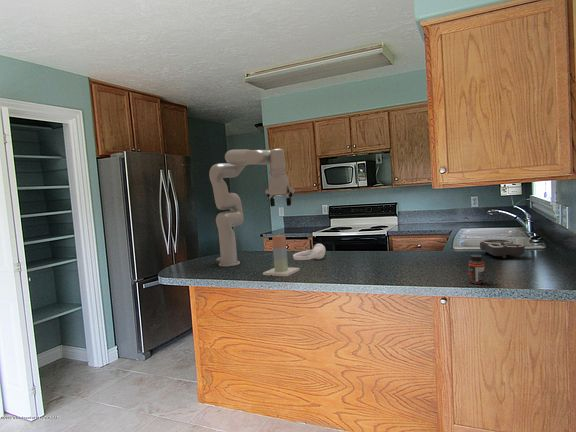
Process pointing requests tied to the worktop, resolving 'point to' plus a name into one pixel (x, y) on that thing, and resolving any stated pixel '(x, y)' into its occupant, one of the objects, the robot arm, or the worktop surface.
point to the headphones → (315, 253)
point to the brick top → (279, 241)
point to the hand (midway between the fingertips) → (280, 206)
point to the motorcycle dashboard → (502, 247)
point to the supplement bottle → (476, 270)
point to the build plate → (277, 273)
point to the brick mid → (279, 253)
